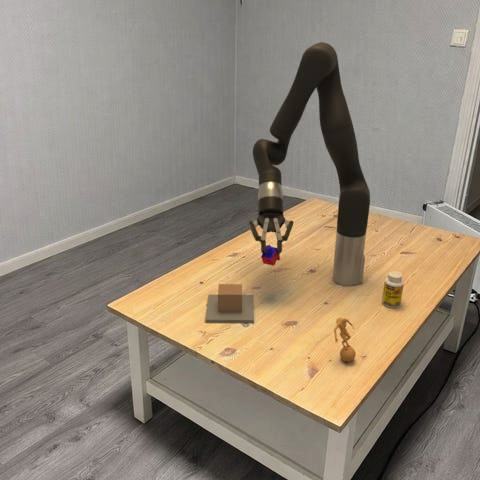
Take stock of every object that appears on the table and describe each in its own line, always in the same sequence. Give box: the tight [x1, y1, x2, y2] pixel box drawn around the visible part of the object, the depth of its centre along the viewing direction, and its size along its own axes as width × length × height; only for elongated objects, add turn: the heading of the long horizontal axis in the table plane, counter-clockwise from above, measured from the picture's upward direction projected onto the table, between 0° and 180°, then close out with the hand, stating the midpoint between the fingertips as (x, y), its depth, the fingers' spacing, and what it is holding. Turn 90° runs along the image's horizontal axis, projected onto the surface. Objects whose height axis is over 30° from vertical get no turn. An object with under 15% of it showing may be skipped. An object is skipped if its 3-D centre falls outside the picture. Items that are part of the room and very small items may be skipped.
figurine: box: [333, 317, 357, 363], centre depth 135 cm, size 8×6×12 cm
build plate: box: [204, 283, 255, 324], centre depth 157 cm, size 14×14×7 cm
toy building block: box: [260, 244, 281, 267], centre depth 157 cm, size 4×4×8 cm
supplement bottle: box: [381, 270, 405, 309], centre depth 160 cm, size 6×6×10 cm
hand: (271, 253), depth 155 cm, fingers closed on toy building block, 3 cm apart
